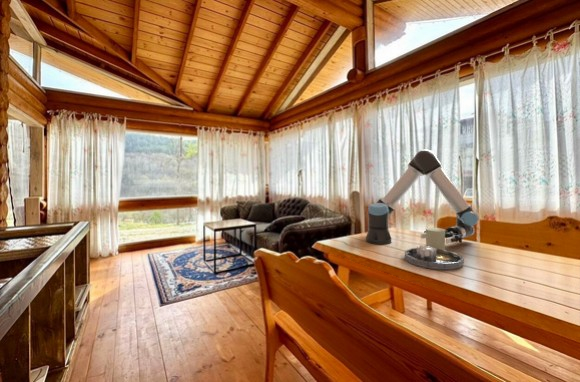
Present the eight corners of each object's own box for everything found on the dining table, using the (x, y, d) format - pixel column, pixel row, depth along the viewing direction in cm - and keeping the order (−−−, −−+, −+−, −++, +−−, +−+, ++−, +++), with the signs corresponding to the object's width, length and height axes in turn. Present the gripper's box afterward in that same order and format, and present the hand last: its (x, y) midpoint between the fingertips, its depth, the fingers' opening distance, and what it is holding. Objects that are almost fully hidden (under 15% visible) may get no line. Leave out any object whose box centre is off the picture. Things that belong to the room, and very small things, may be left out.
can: (444, 254, 133) (444, 231, 133) (424, 251, 139) (424, 229, 138) (446, 249, 141) (446, 227, 140) (427, 247, 146) (427, 226, 146)
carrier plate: (395, 255, 133) (395, 241, 133) (437, 252, 137) (437, 238, 136) (426, 272, 110) (426, 255, 109) (476, 267, 113) (476, 251, 113)
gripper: (479, 244, 138) (458, 250, 128) (433, 235, 160) (412, 240, 149) (479, 230, 138) (458, 235, 127) (433, 223, 159) (412, 227, 149)
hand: (433, 238), depth 138 cm, fingers open, 13 cm apart
